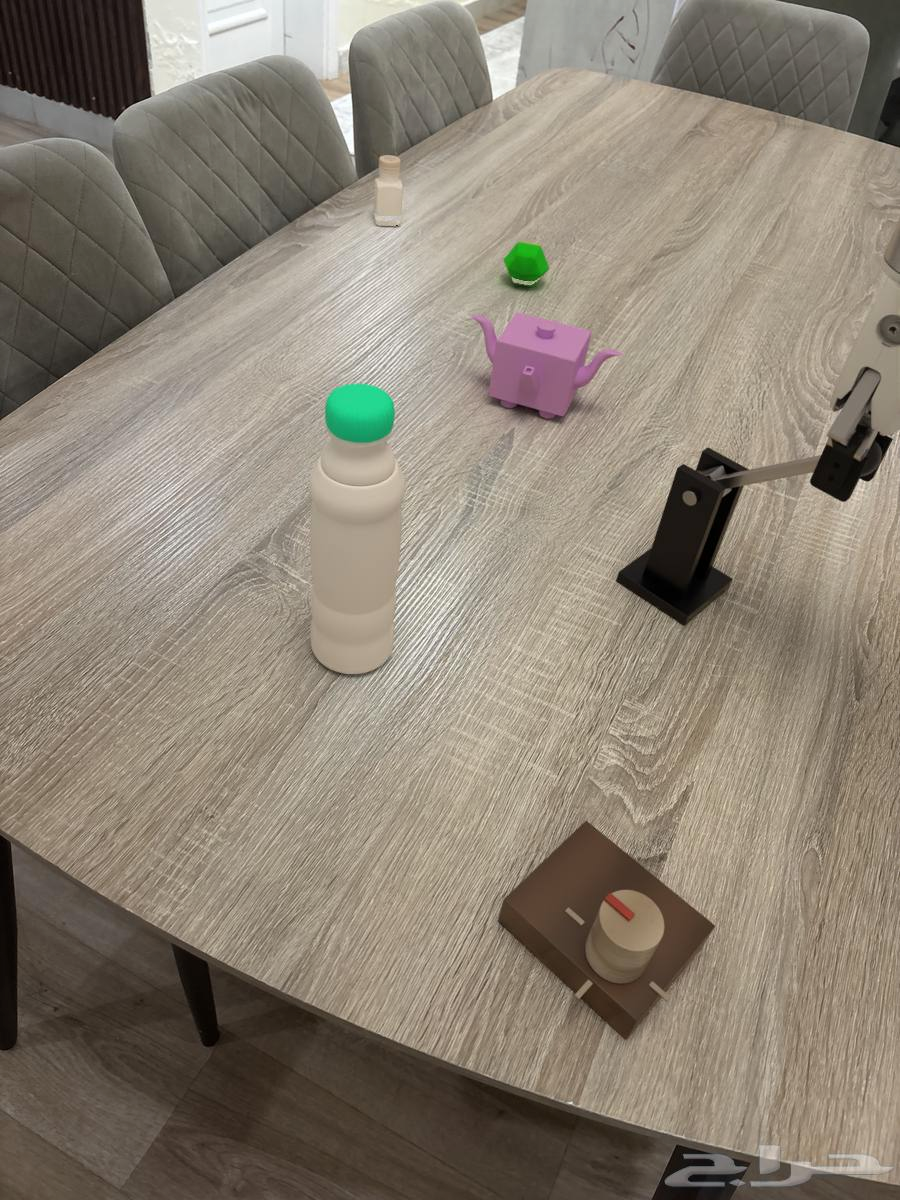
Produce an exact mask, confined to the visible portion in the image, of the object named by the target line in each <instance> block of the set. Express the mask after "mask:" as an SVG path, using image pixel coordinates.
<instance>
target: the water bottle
mask: <svg viewBox="0 0 900 1200" xmlns="http://www.w3.org/2000/svg"><path fill="white" fill-rule="evenodd" d="M324 407H325V408H324V411H325V412H324V417H325V420H324V421H325V425H326V430H327V433H328V435H329V436H330V437H331V438H330V439H329V441H328V442H327V443H326V444H325V445H324V447H323V449H322V452H321V454H320V455H319V457H318V458H317V460H316V462H315V464H314V466H313V467H312V470H311V472H310V475H309V480H308V490H309V491H308V492H309V495H310V499H311V504H310V516H309V517H310V518H309V555H310V556H309V558H310V559H309V560H310V573H311V574H310V575H311V582H312V586H311V591H310V611H311V616H312V618H311V624H310V646H311V650H312V653H313V655H314V656H315V658H316V659H317V661H318V662H319V663H320V664H322V665H323V666H324V667H326V668H327V669H329V670H331V671H334V672H336V673H340V674H344V675H360V674H366V673H368V672H372V671H373V670H376V669H378V668H379V667H381V666H383V665H384V663H386V661H387V660H388V659H389V657H390V656H391V655H392V652H393V649H394V641H395V622H394V619H395V615H396V611H397V589H396V586H397V585H396V584H397V581H398V580H397V579H398V575H399V568H400V567H399V566H400V558H401V548H402V531H403V530H402V529H403V508H402V504H403V501H404V498H405V494H406V480H405V475H404V472H403V470H402V468H401V465H400V464H399V462H398V461H397V459H396V456H395V453H394V450H393V449H392V446H391V445H390V444H389V442H388V441H387V440H388V439H389V438H390V437H391V435H392V431H393V429H394V423H395V417H396V416H395V414H396V413H395V411H396V410H395V403H394V401H393V399H392V397H391V396H390V394H388V392H387V391H386V390H384V389H382V388H380V387H378V386H376V385H372V384H367V383H357V382H356V383H350V384H345V385H341V386H337V387H336V388H334V389H333V390H332V391H331V392H330V393H329V394H328V396H327V398H326V402H325V406H324Z"/></svg>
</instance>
